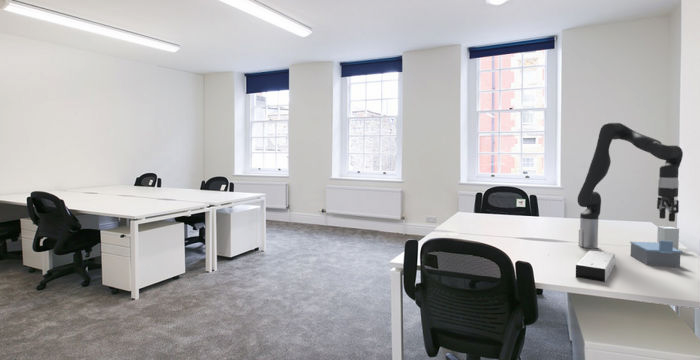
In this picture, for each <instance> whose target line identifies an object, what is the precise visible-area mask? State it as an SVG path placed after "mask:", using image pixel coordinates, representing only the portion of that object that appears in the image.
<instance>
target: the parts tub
mask: <svg viewBox="0 0 700 360" xmlns="http://www.w3.org/2000/svg"><path fill="white" fill-rule="evenodd" d="M630 257H632V258H634V259H636V260H637V261H639V262H641V263H642V264H644V265H646V266H659V267H660V266H661V267H663V266H664V267H665V266H666V267H681V253H676V252H673V253H660V252H654V251H645V250H643V249H641V248H639V247H637V246H635V245H633V244H631V243H630Z"/></svg>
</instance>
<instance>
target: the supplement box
mask: <svg viewBox="0 0 700 360" xmlns="http://www.w3.org/2000/svg"><path fill="white" fill-rule="evenodd" d="M656 239H657V241H656V243H659V240H660V241H673V248H675V249H678V250H679V245H680V244H679V240H680V228H677V227H673V226H657V238H656Z"/></svg>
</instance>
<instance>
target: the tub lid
mask: <svg viewBox="0 0 700 360" xmlns="http://www.w3.org/2000/svg"><path fill="white" fill-rule="evenodd" d="M629 243H630V245H631V244H633V245H635V246H637V247H639V248H641V249H643V250H645V251H654V252H660V253H673V252H676V253H680V254H681V253H682V250H680V249H679V248H678V249H675V248H673V241H660V240H659V243H657V241H655V242H654V241H653V242H652V241H629Z"/></svg>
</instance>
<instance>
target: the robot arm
mask: <svg viewBox="0 0 700 360" xmlns="http://www.w3.org/2000/svg"><path fill="white" fill-rule="evenodd" d="M597 138H598V139H597V142H596V148H595V151H594V153H593V157H592V160H591V163H590V164H589V167H588V171H587V173H586V177H585V180H584V182H583V184H582V187H581V188H580V191H579V193H578V196H577V204H578V206H580V207H582V208H586V209H585V210H584V211H582V212H580V217H579V219H580V220H579V229H578V246H579V247H580V248H586V249H597V248H598V246H599V216H600V215H601V207H602V206H601V205H602V197H601V194H600V193H599V192H598V191H594V190H595V188H596V187H597V185H598V184H599V183H601V181H602V180H603V179H604V178H605V177H607V174H608V172H609V170H610V167H611V156H610V146H611V143H612V141H613V140H621V141H626V142H628V143H631V144H632V145H633V146H634V147H636V148H637V149H639V150H642V151H644V152H647V153H649V154H650V155H652V156H653V157H655V158H657V159H660V160H662V161H665V162H664V164H663V165H661V166H660V167H659V176H658V177H659V179H658V186H657V196H658V197H657V200H656V201H657V203H656V209H657V210H658V212H659V219H662V220H663V219H666V210H667V211H668V221H669V222H673V223H674V222H675V221H676V214H679V207H680V205H679V203H680V202H679V200H678V199H675V198H678V197H679V185H680V184H679V168H680V166H681V164H682V160H683V154H684V152H683V150H682V148H681V147H680V146H678V145H666V144H664V143H663V142H661V141H660V140H659V139H656V138H653V137H650V136H647V135H644V134H642V133H640V132H637V131H636V130H633V129H632V128H629V126H626V125H625V124H622V123H621V122H606V123H604V124H603V125H602V126H601V128H600V130H599V134H598V137H597Z"/></svg>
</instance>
